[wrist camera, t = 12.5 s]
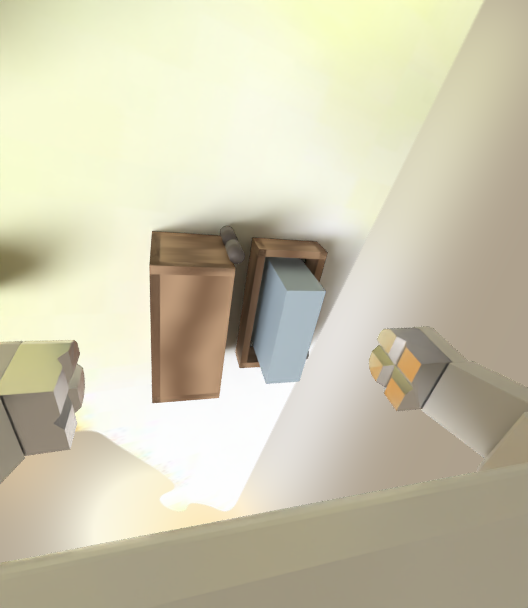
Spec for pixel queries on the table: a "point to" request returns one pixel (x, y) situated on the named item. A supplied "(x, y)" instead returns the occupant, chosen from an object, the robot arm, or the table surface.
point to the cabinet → (206, 306)
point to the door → (285, 318)
